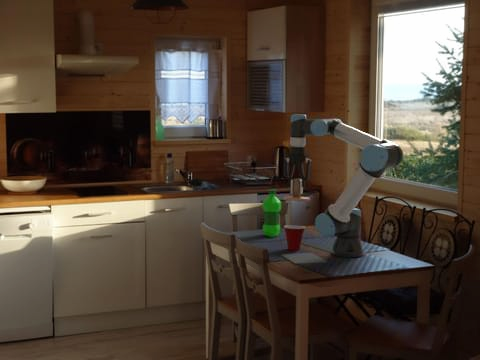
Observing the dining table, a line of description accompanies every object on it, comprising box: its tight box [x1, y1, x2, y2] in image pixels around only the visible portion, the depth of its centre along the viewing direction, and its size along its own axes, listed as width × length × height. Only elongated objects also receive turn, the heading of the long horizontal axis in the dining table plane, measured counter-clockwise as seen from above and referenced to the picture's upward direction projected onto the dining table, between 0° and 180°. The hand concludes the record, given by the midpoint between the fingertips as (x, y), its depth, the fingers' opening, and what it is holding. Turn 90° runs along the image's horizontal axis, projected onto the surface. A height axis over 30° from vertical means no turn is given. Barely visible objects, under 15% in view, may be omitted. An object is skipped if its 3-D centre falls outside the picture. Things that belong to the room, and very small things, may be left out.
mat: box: [280, 252, 328, 265], centre depth 366 cm, size 18×16×1 cm
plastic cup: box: [283, 224, 306, 252], centre depth 385 cm, size 11×11×12 cm
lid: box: [282, 178, 311, 202], centre depth 380 cm, size 13×13×10 cm
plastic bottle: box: [262, 189, 282, 238], centre depth 415 cm, size 10×10×25 cm
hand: (296, 193), depth 380 cm, fingers closed on lid, 4 cm apart
